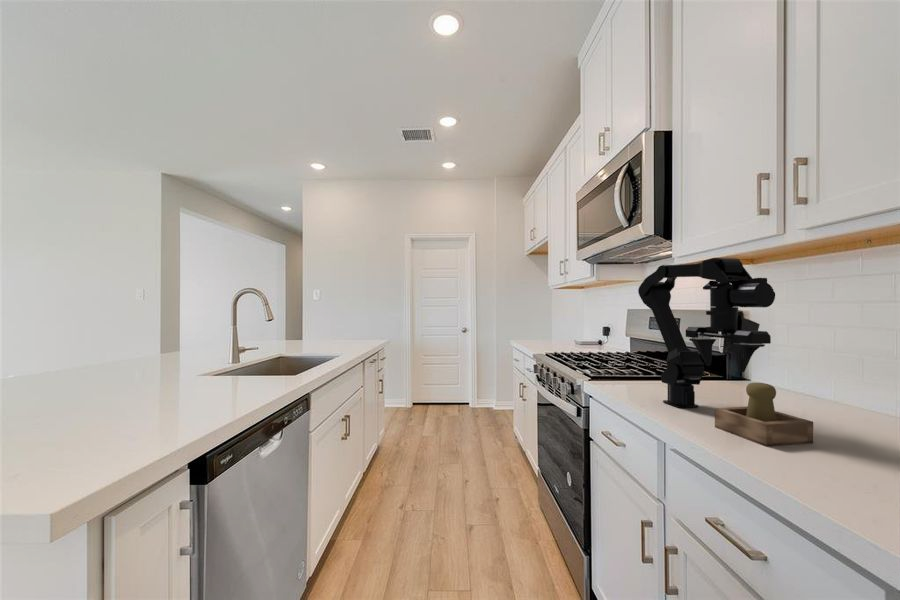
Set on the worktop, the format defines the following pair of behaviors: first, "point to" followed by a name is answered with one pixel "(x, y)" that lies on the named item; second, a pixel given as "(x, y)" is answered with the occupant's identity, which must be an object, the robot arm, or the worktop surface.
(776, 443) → the socket block
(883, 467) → the worktop surface
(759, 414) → the cork
